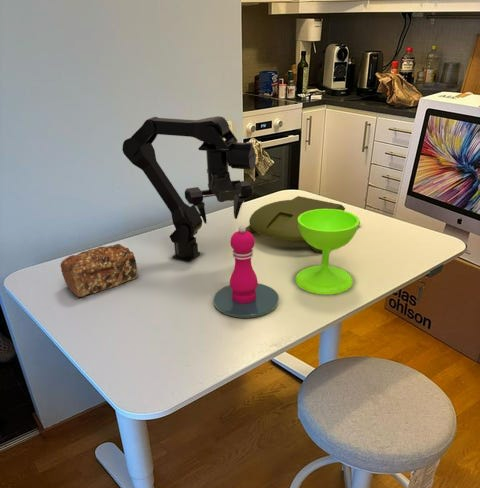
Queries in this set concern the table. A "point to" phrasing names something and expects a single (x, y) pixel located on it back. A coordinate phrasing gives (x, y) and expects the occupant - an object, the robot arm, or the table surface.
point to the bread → (98, 269)
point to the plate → (260, 306)
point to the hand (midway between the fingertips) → (220, 220)
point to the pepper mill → (243, 267)
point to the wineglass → (326, 248)
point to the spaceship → (285, 218)
